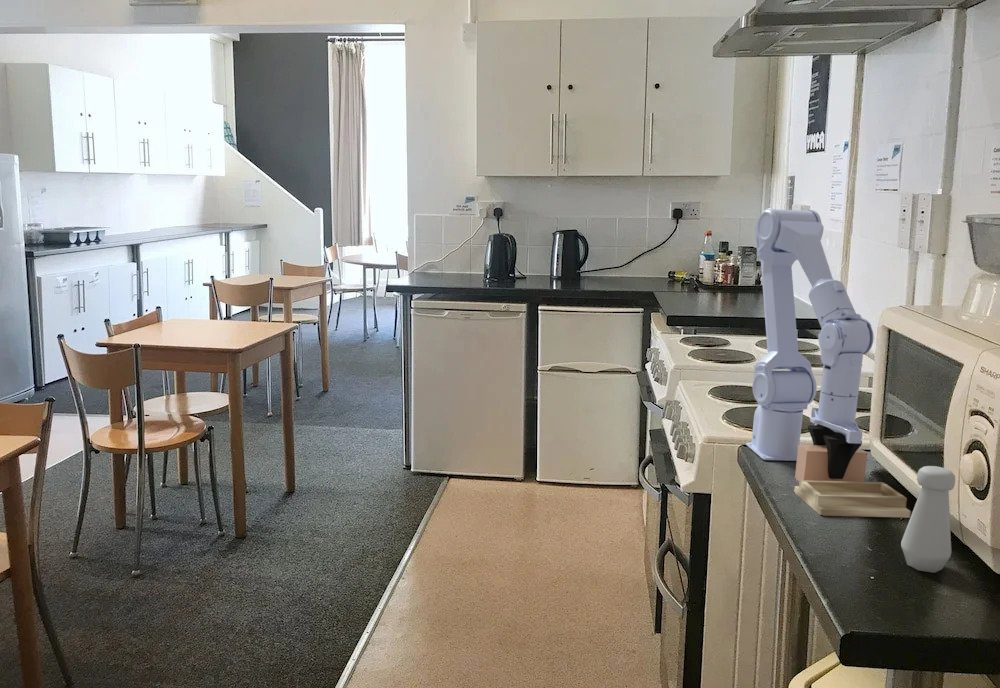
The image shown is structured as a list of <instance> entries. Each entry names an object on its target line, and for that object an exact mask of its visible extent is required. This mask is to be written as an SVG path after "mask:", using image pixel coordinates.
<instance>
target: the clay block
mask: <svg viewBox="0 0 1000 688" xmlns="http://www.w3.org/2000/svg"><path fill="white" fill-rule="evenodd" d="M867 458H868V452H867V451H865V450H863V449H862V448H860V447H859V448H858V449H857V451H856V452H855V454H854V455H853V457H852V458H851V460H850V463H849V465H848V467H847V470H846V472H845V475H844V477H843V479H831V478H829V475H828V452H827V447H826V446H824V445H813V444H799V445H798V454H797V461H796V462H795V463H796V464H795V473H794V479H795V478H796V480H795V481H797V480H798V481H799V480H814V481H852V482H865V475H866V465H867ZM798 481H797V482H798Z"/></svg>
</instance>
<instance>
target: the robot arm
mask: <svg viewBox="0 0 1000 688" xmlns="http://www.w3.org/2000/svg"><path fill="white" fill-rule="evenodd" d="M754 231H755V232H754V233H755V244H756V245H755V246H756V256H757V258H759V259H760V268H761V269H760V270H761V271H760V272H761V282H762V294H763V309H764V310H763V311H764V320H765V321H764V322H765V323H764V325H765V336H766V349H767V353H766V355H765V356H763V357H762V358H760V360H758V361H757V362H756V364H754V366H753V367H754V373H753V374H754V377H753V380H752V394H753V397H754V399H755V400H756V402H757V405H758V406H757V407H756V408H755V411H754V415H753V424H752V425H753V426H752V434H751V442H746V443H745V445H746V446H747V447H748V448H749V449H750V450H752V451H753V453H755V454H756V455H758V457H759V458H761V459H762V460H764V461H791V462H797V454H798V445H801V444H800V442H801V434H802V433H801V432H802V425H803V424H802V423H803V415H804V411H805V410H807V409H808V405H810V404H811V403H812V402H813V401H814V400H815V397H816V396H817V395H816V394H817V392H818V391H817V388H818V386H817V382H816V378H815V376H814V374H813V369H812V363H811V361H809V359H807V358H806V357H805V356H804V355H802V354H801V353H800V352H799V347H798V346H799V344H798V343H799V342H798V334H797V333H798V331H797V319H796V307H795V293H794V282H793V270H792V269H793V268H792V266H793V265H794V264H795V262H796V261H798V262H799V265H800V266H801V269H802V270H803V272H804V274H805V276H806V277H807V280H808V281H809V284H810V285H811V289H810V291H809V294H808V299H809V301H810V304H811V306H812V309H813V312H814V313H815V316H816V318H817V320H818V323H819V326H820V328H821V330H820V332H819V333H818V334H817V335H818V337H817V338H818V345H819V347H820V348H819V349H820V360H821V361H820V362H821V364H823V365H822V366H823V367H822V376H821V384H820V393H819V399H818V400H819V402H818V407H813V408H811V415H810V418H809V422H810V423H812V424H813V425H811V424H810V425H808V426H807V430H808V432H809V434H810V437H811V441H812V445H824V446H826V447H827V452H828V475H829V478H831V479H843V477H844V475H845V472H846V470H847V467H848V465H849V463H850V460H851V458H852V457H853V455H854V454H855V452H856V451H857V449H858V448H860V447H862V445H863V439H862V438H863V431H862V430H860V428H859V425H858V423H857V421H856V417H857V416H856V415H857V407H858V400H859V399H858V398H859V391H860V383H861V376H862V374H861V373H862V368H863V358H864V355H866V354H867V353H869V352H870V351H871V349H872V347H873V344H874V340H875V339H874V338H875V337H874V331H873V327H872V324H871V322H870V321H868V320H867V319H866V318H863V317H862V316H861V314H860V313H856V310H855V309H854V306H853V304H852V301H851V299H850V296H849V295H848V292H847V290H846V287H845V285H844V283H843V282H842V281H839V280H836V279H834V278H833V275H832V272H831V269H830V266H829V262H828V259H827V256H826V253H825V251H824V248H823V245H822V238H823V233H824V225H823V223H822V219H821V215H819V213H818V212H817V211H816V210H813V209H808V210H800V209H799V210H797V209H796V210H795V209H776V208H770V207H769V208H766V209H765V208H764V210H763V211H762V212H761V214H759V217H758V219H757V222H756V223H755V226H754ZM814 424H815V425H814Z"/></svg>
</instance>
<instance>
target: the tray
mask: <svg viewBox="0 0 1000 688" xmlns="http://www.w3.org/2000/svg"><path fill="white" fill-rule="evenodd" d="M793 491H794V492H795V493H794V492H793V493H794V494H795V495H796V496H798V497H799V498H800V499H801V500H802V501H803V502H805V504H807V505H808V506H809V507H810V508H811V509H813V510H814V512H816V513H817V514H818V515H819V516H820V515H823V517H824V516H825V517H826V516H827V517H828V516H829V517H831V516H832V517H833V516H834V517H869V518H870V517H871V518H905V519H906V518H908V519H909V518H911V514H912V511H911V510H910V509H908V508H907V502H908V499H907V497H906V496H905V495H903V494H902V493H900V492H899V491H897V490H896V489H894V488H893V487H892V486H889V484H887V483H885V482H883V481H882V482H881V481H880V482H879V481H864V482H852V481H814V480H799V482H798V485H795V486H794V490H793Z"/></svg>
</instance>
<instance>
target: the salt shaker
mask: <svg viewBox="0 0 1000 688" xmlns="http://www.w3.org/2000/svg"><path fill="white" fill-rule="evenodd" d="M916 481H917V483H918V485H919V486H920V487H921V489H920V491H919V494H918V497H917V500H916V502H915V504H914V507H913V510H912V511H911V514H910V519H909V521H908V522H907V525H906V528H905V531H904V534H903V535H902V539H901V542H900V547H901V550H902V552H903V555H904V559H905V562H906V565H907V566H909V567H911V568H913V569H915V570H917V571H921V572H927V573H933V574H935V573H937V572H939V571H942V570H943V568H944V567H945V565H946V564H947V562H948V561H949V559H950V558H951V556H952V555H951V554H952V541H951V539H952V536H951V535H952V534H951V517H950V515H951V514H950V513H951V512H950V496H949V492H950V491H952V490H953V489H954V488H955V485H956V475H955V474H954V473H953V472H952V470H949V469H947V468H945V467H942V466H936V465H926V466H922V467H920V468H919V469H918V471H917V474H916Z"/></svg>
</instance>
